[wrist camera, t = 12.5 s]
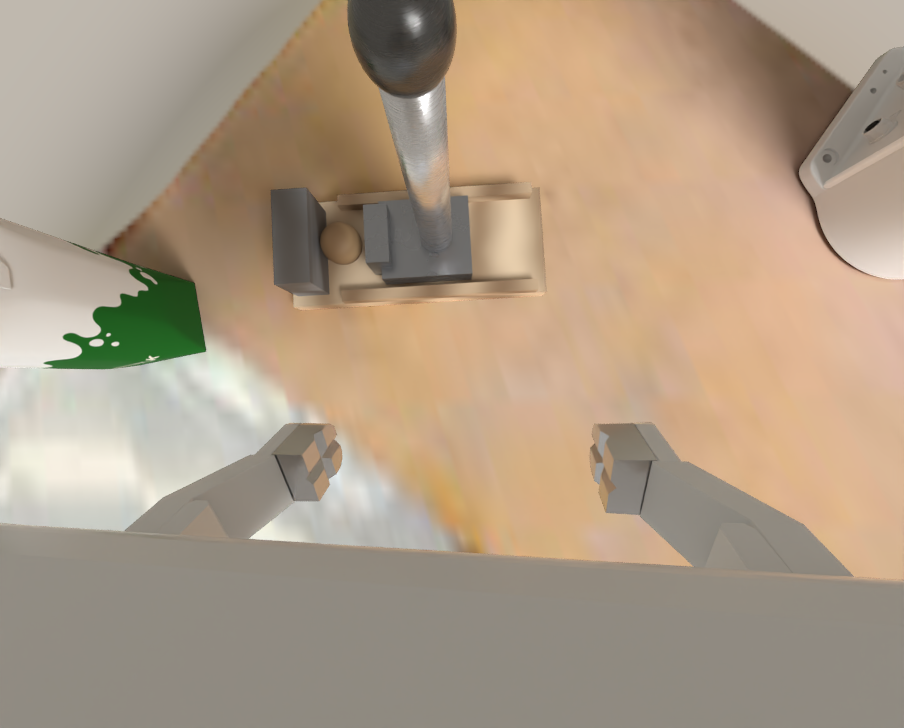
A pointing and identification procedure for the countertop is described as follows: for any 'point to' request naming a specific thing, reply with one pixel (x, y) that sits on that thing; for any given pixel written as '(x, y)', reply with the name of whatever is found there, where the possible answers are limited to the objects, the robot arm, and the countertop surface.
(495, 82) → the countertop surface
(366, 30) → the ball-top joystick lever
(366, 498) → the countertop surface
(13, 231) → the milk carton
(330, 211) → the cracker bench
